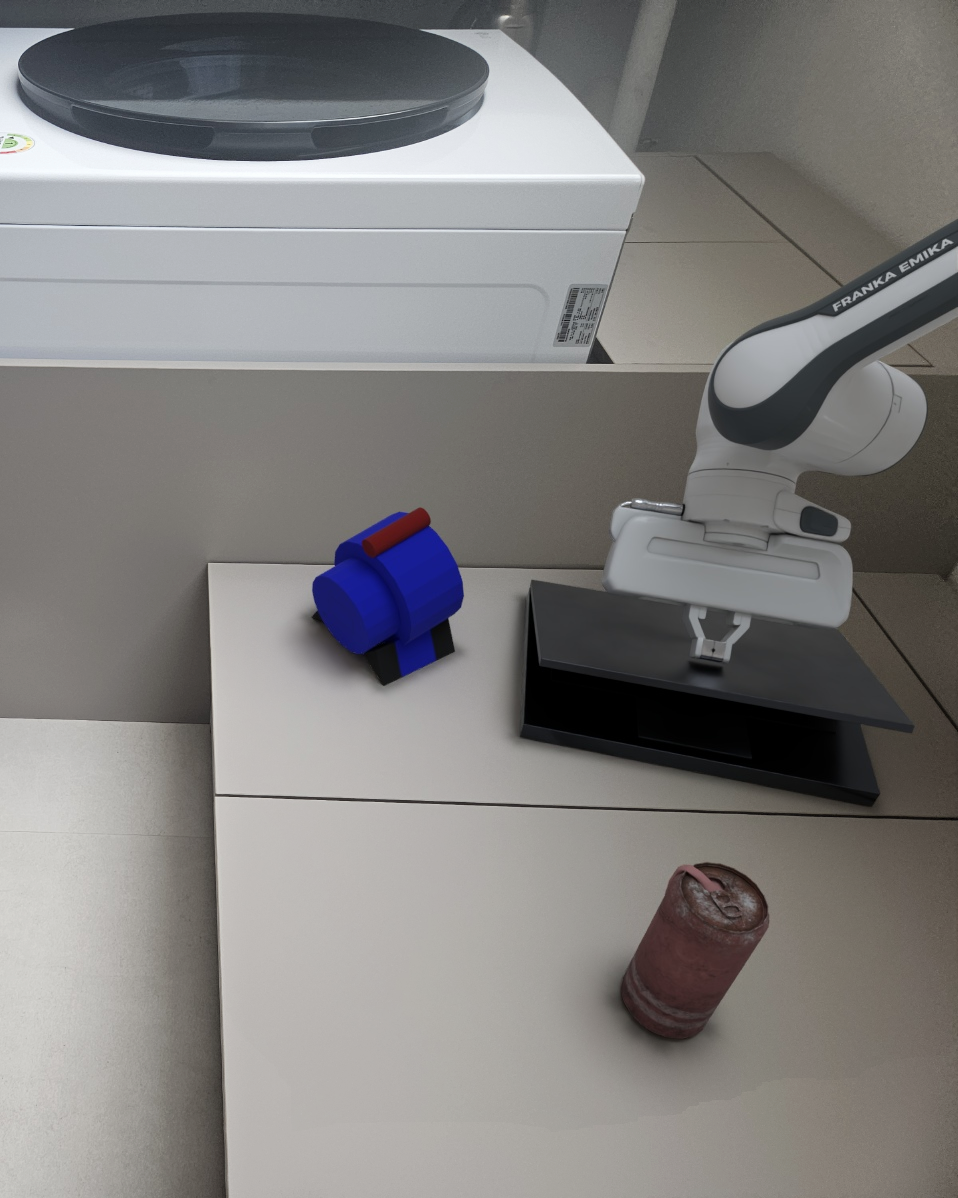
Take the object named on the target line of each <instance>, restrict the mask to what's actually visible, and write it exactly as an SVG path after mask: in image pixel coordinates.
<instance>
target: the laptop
mask: <svg viewBox="0 0 958 1198" xmlns="http://www.w3.org/2000/svg"><path fill="white" fill-rule="evenodd" d="M524 616H525V617H524V636H523V640H524V641H523V658H522V678H521V699H520V700H521V701H520V719H519V721H520V722H519V723H520V724H519V738H522V739H526V740H530V741H531V740H532V741H537V742H541V743H546V744H547V743H548V744H553V745H557V746H562V747H568V748H572V749H577V750H583V751H588V752H592V753H598V754H602V755H608V756H613V757H618V758H623V759H628V760H633V761H639V762H643V763H648V764H652V765H658V766H663V767H667V768H668V767H669V768H674V769H679V770H684V771H689V772H693V773H699V774H704V775H709V776H714V777H719V778H723V779H724V778H725V779H729V780H735V781H739V782H745V783H750V784H754V785H759V786H765V787H769V788H775V789H779V790H784V791H785V790H786V791H790V792H796V793H800V794H805V795H810V796H815V797H820V798H825V799H829V800H830V799H831V800H836V801H841V802H845V803H850V804H856V805H861V806H866V807H873V806H874V804H876V801H877V800H878V799H879V797H880V795H881V790H880V787H879V784H878V780H877V777H876V774H875V770H874V767H873V762H872V760H871V756H870V753H869V749H868V746H867V743H866V738H865V735H864V732H863V728H862V724H857V723H851V722H846V721H840V720H835V719H829V718H824V717H818V716H813V715H807V714H802V713H796V712H790V711H785V710H779V709H774V708H768V707H763V706H757V705H752V704H746V703H741V702H735V701H730V700H724V699H719V698H713V697H708V696H702V695H697V694H691V693H686V692H680V691H675V690H669V689H664V688H658V687H653V686H647V685H642V684H636V683H631V682H625V681H620V680H614V679H609V678H603V677H598V676H592V675H587V674H581V673H576V672H570V671H565V670H559V669H554V668H548V667H543V666H539V657H538V649H537V641H536V632H535V624H534V616H533V607H532V599H531V591H530V587H528V591H527V595H526V599H525V615H524Z"/></svg>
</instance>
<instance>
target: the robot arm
mask: <svg viewBox="0 0 958 1198" xmlns="http://www.w3.org/2000/svg"><path fill="white" fill-rule="evenodd" d="M957 318H958V218H956V219H955V220H953V221H951V222H950V223H948V224H946V225H944V226H943V227H940V228H939V229H937V230H935V231H934V232H932V233H930V234H929V235H927V236H925V237H924V238H922V239H920V240H919V241H917V242H915V243H914V244H912V245H910V246H908V247H907V248H905V249H903V250H901V251H899V252H898V253H897V254H895V255H893V256H892V257H890V258H888V259H886V260H885V261H883V262H881V263H880V264H878V265H876V266H875V267H873V268H871V269H870V270H867V272H865V273H863V274H861V275H860V276H857V277H856V278H855V279H853V280H851V281H849V282H848V283H846V284H844V285H843V286H841V287H839V288H838V289H836V290H834V291H833V292H830V293H829V294H827V295H826V296H824V297H822V298H820V299H818V300H817V301H815V302H813V303H811V304H809V305H807V306H805V307H802V308H800V309H797V310H795V311H793V312H789V313H787V314H783V315H781V316H778V317H775V318H772V319H769V320H765V321H764V322H762V323H759V324H758V325H756V326H754V327H753V328H751V329H749V330H747V331H745V332H744V333H743V334H742V335H740V336H739V337H738V338H736V339H735V340H733V341H732V342H730V343H728V344H726V346H725V347H723V349H722V350H721V351H720V352H719V354H718V356H717V357H716V359H715V361H714V363H713V364H712V367H711V369H710V372H709V374H708V377H707V380H706V382H705V386H704V390H703V393H702V397H701V402H700V404H699V405H700V406H699V411H698V415H697V421H696V426H695V439H696V452H695V457H694V460H693V462H692V464H691V466H690V468H689V470H688V472H687V476H686V477H687V478H686V482H685V483H686V484H685V489H684V494H683V500H682V504H681V503H675V502H667V501H654V500H653V501H652V500H648V499H646V498H641V497H640V498H639V497H635V498H631V500H629V501H628V500H627V501H624V502H621V503H619V504H618V505H617V506H616V507H614V509H613V511H612V513H611V516H610V522H609V528H608V532H609V536H610V538H611V540H612V543H611V545H610V548H609V551H608V553H607V558H606V559H605V564H604V566H603V570H602V574H601V575H602V576H601V580H600V583H601V585H602V587H603V589H604V590H605V592H607V593H609V594H614V595H620V596H625V597H631V598H637V599H643V600H649V601H655V602H660V603H666V604H672V605H678V606H684V613H683V621H684V623H685V626H686V628H687V630H688V633H689V635H690V637H691V638H692V643H691V649H690V657H691V658H697V659H703V660H708V661H713V662H719V663H728V662H729V660H730V655H731V649H732V644H734V643H735V642H736V641H737V640H738V639H739V638H740V637H741V636H742V635H743V634H744V633H745V632H746V631H747V630H748V628H749V627H750V621H751V618H753V619H759V620H765V621H771V622H777V623H782V624H788V625H794V626H800V627H806V628H811V629H817V630H831V629H838V628H839V627H841V626H842V625H843V624H845V622H846V621H848V619H849V616H850V612H851V605H852V599H853V598H852V597H853V582H854V581H853V579H854V578H853V577H854V575H853V574H854V573H853V571H854V570H853V568H854V567H853V562H852V558H851V555H850V554H849V552H848V551H847V549H845V547H843V546H842V545H841V543H843V542H845V541H847V540H848V539H849V537H850V535H851V530H852V523H851V521H850V520H849V519H848V518H846V517H845V516H843V515H840V514H839V513H837V512H834V511H832V510H829V509H827V508H825V507H823V506H820V505H818V504H816V503H814V502H811V501H810V500H809V499H805V498H804V497H802V496H800V495H797V494H796V487H797V481H798V478H799V476H801V474H802V473H805V472H810V471H812V472H819V473H823V474H830V475H836V476H846V477H847V476H848V477H868V476H875V475H877V474H881V473H883V472H885V471H887V470H889V469H891V468H893V467H894V466H895V465H897V464H899V463H900V462H901V461H903V460H904V459H905V458H906V457H907V456H908V455H909V454H910V453H911V452H912V451H913V450H914V448H915V447H916V446H917V444H918V442H920V439H921V437H922V435H923V433H924V431H925V429H926V425H927V421H928V415H929V404H928V398H927V395H926V392H925V390H924V389H923V387H922V386H921V384H920V383H919V382H918V381H916V380H915V379H914V378H913V377H910V376H909V375H908V374H906V373H905V372H903V371H901V370H900V369H898V368H896V367H893V366H891V365H889V364H887V363H886V362H883V361H880V359H882V358H884V357H886V356H888V355H889V354H891V353H893V352H895V351H897V350H899V349H901V348H903V347H904V346H906V345H908V344H911V343H912V342H914V341H916V340H917V339H919V338H921V337H923V336H925V335H928V334H929V333H931V332H932V331H934V330H936V329H938V328H940V327H942V326H944V325H945V324H947V323H949V322H951V321H953V320H955V319H957ZM628 506H629V507H628ZM706 611H713V612H718V613H724V614H728V615H727V621H726V625H727V626H730V627H732V626H733V628H732V629H731V630H730V631H729V632H728V633H727V634H726V635H725V637H724V638H723V639H722V640H721V641H720V642H719V641H713V640H708V639H705V636H704V633H703V630H702V628H701V625H700V623H699V620H702V619H705V617H706Z"/></svg>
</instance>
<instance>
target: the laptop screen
mask: <svg viewBox="0 0 958 1198" xmlns="http://www.w3.org/2000/svg"><path fill="white" fill-rule="evenodd" d="M529 588H530V591H531V599H532V607H533V616H534V624H535V632H536V641H537V649H538V657H539V666H543V667H548V668H554V669H559V670H565V671H570V672H576V673H581V674H587V675H592V676H598V677H603V678H609V679H614V680H620V681H625V682H631V683H636V684H642V685H647V686H653V687H658V688H664V689H669V690H675V691H680V692H686V693H691V694H697V695H702V696H708V697H713V698H719V699H724V700H730V701H735V702H741V703H746V704H752V705H757V706H763V707H768V708H774V709H779V710H785V711H790V712H796V713H802V714H807V715H813V716H818V717H824V718H829V719H835V720H840V721H846V722H851V723H857V724H860V725H861V726H862V725H863V726H868V727H873V728H874V727H875V728H879V729H885V730H890V731H896V732H901V733H907V734H913V732H914V730H915V727H916V724H914V722H913V721H912V720H911V718H910V717H909V716H908V714H906V712H905V711H904V710H903V708H902V707H901V706H900V704H898V702H897V700H895V698H893V696H892V695H891V693H890V692H889V691H888V689H887V688H886V687H885V686H884V685H883V683H882V682H881V681H880V680H879V678H878V677H877V676H876V675H875V673H874V672H873V671H872V670H871V668H870V667H869V666H868V665H867V664H866V663H865V661H864V660H863V658H862V657H861V656H860V655H859V654H858V652H857V651H856V650H855V649H854V647H853V646H852V645H851V644H850V642H849V641H848V640H847V638H846V637H845V636H844V635H843V634H842V632H841V631H840V630H839V629H838V628H836V629H831V630H817V629H811V628H806V627H800V626H794V625H788V624H782V623H777V622H771V621H765V620H759V619H753V618H751V621H750V627H749V628H748V630H747V631H746V632H745V633H744V634H743V635H742V636H741V637H740V638H739V639H738V640H737V641H736V642H735V643H734V644H732V649H731V655H730V660H729V662H728V663H719V662H713V661H708V660H703V659H697V658H691V657H690V649H691V643H692V638H691V637H690V635H689V633H688V630H687V628H686V626H685V623H684V621H683V613H684V606H678V605H672V604H666V603H660V602H655V601H649V600H643V599H637V598H631V597H625V596H620V595H614V594H609V593H607V592H606V590H605V591H604V590H599V589H593V588H587V587H580V586H575V585H568V584H563V583H555V582H549V581H545V580H537V579H531V580H530V583H529ZM727 615H728V614H724V613H718V612H713V611H706V617H705V619H702V620H699V623H700V625H701V628H702V630H703V633H704V636H705V639H708V640H713V641H719V642H720V641H721V640H722V639H723V638H724V637H725V635H726V634H727V633H728V632H729V631H730V630H731V629H732V628H733V626H732V627H730V626H727V625H726V621H727Z"/></svg>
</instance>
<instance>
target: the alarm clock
mask: <svg viewBox="0 0 958 1198" xmlns="http://www.w3.org/2000/svg"><path fill="white" fill-rule="evenodd" d="M431 522H432V520H431V516H430V514H429V513H428V511H427V510H426V509H425V508H424V507H417V508H416V509H413V510H412V511H411V512H405V511H397V512H394V513H392V514H390V515H388V516H386V517H385V518H383V519H381V520H379V521H378V522H376V523H374V524H372V525H371V526H369V527H367V528H365V529H363V530H362V531H360V532H359V533H356V534H355V535H353V536H351V537H349V538H348V539H346V540H345V541H343V542H341V543H339V545H338V546H337V548H336V550H335V551H334V561H333V562H334V563H333V565H334V566H332V567H330V568H329V569H327V570H326V571H323V573H321V574H319V575H317V576H315V578H314V579H313V581H312V586H311V592H312V597H313V602H314V604H315V607H316V611H315V612H314V613H313V614H312V616H311V618H313V619H317V620H319V621H322V622H323V624H324V626H325V627H326V628H327V630H328V631H329V632H330V634H331V635H332V637H333V638H335V640H336V641H337V642H338V643H339V644H340V645H341V646H342V647H344V649H346V650H347V651H349V652H351V653H353V654H356V655H362V656H363V657H364V659H365V660H366V662H367V663H368V665H369V666H370V668H371V669H372V671H373V673H374V674H375V675H376V677H377V678H378V680H379V681H380V683H381V685H382V686H383V687H385V686H386V685H389V684H391V683H393V682H395V681H397V680H399V679H401V678H403V677H405V676H408V675H409V674H412V673H413V672H416V671H418V670H420V669H422V668H424V667H425V666H428V665H430V664H432V663H434V662H436V661H438V660H440V659H442V658H445V657H446V656H447V657H448V655H451V654H453V653H454V652H456V650H455V649H456V648H455V644H454V639H453V633H452V629H451V624H450V620H449V618H451V617H452V616H454V615H455V614H456V613H458V611H459V610H460V609H462V606H463V602H464V598H465V592H464V591H465V590H464V581H463V578H462V574H461V573H460V569H459V565H458V563H457V561H456V560H455V558H454V556H453V554H452V552H451V550H450V549H449V547H448V546H447V544H446V543H445V541H444V540H443V539H442V537H440V535H439V533H438V532H437V531H436V530H435V529H433V528H432V527H431V524H432V523H431Z"/></svg>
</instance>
